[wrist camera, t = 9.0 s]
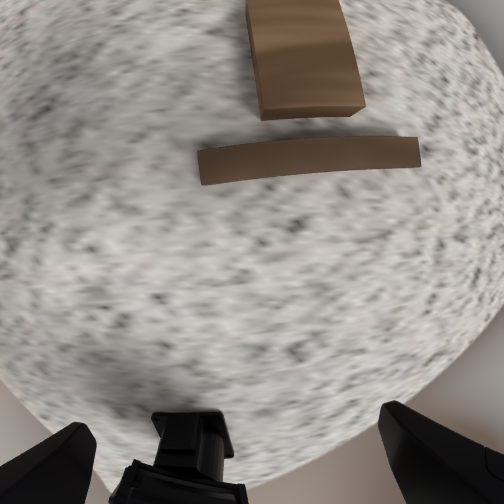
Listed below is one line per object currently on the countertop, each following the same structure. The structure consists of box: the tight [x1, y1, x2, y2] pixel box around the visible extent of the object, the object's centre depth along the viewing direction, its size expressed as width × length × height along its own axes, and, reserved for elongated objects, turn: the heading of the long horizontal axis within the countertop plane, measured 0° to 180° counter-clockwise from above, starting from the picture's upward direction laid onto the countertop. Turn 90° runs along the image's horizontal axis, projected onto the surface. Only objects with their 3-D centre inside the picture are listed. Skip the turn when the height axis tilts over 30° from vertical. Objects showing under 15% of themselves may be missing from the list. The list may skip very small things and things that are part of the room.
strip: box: [197, 136, 421, 185], centre depth 17 cm, size 2×14×2 cm, turn 97°
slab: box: [245, 0, 366, 121], centre depth 15 cm, size 3×6×9 cm
